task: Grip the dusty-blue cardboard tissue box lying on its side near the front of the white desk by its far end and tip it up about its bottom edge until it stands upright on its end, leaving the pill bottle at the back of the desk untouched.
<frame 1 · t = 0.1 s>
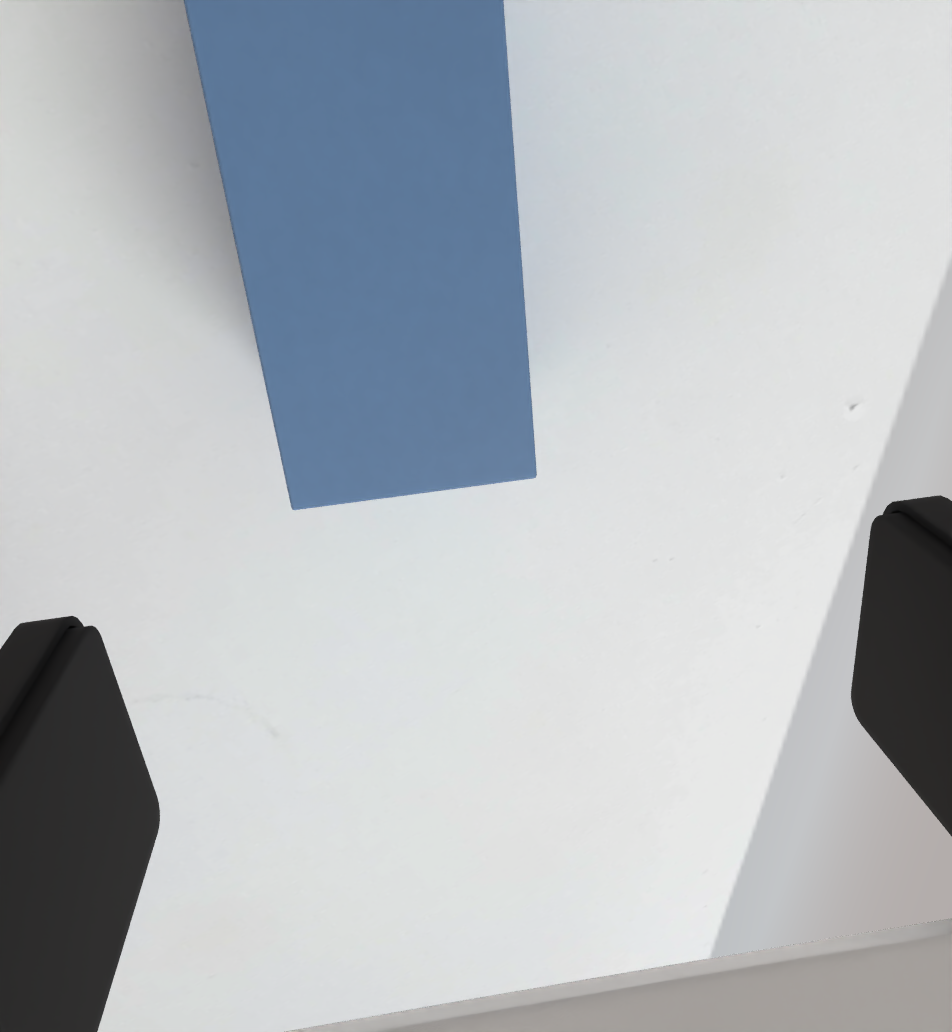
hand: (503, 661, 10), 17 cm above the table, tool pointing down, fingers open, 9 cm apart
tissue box: (372, 178, 20), point 4 cm above the table, hinge at 0.0°
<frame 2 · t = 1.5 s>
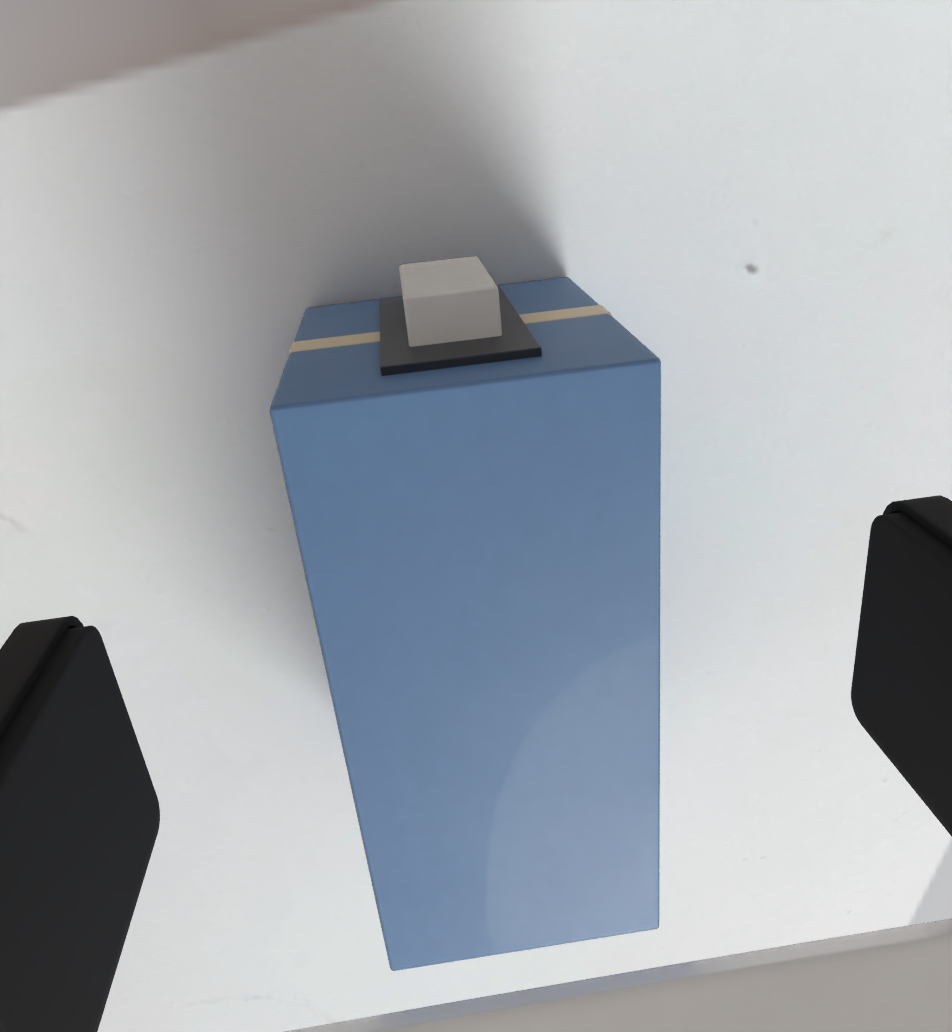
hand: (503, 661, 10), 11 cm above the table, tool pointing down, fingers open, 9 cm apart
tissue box: (479, 598, 18), point 4 cm above the table, hinge at 0.0°
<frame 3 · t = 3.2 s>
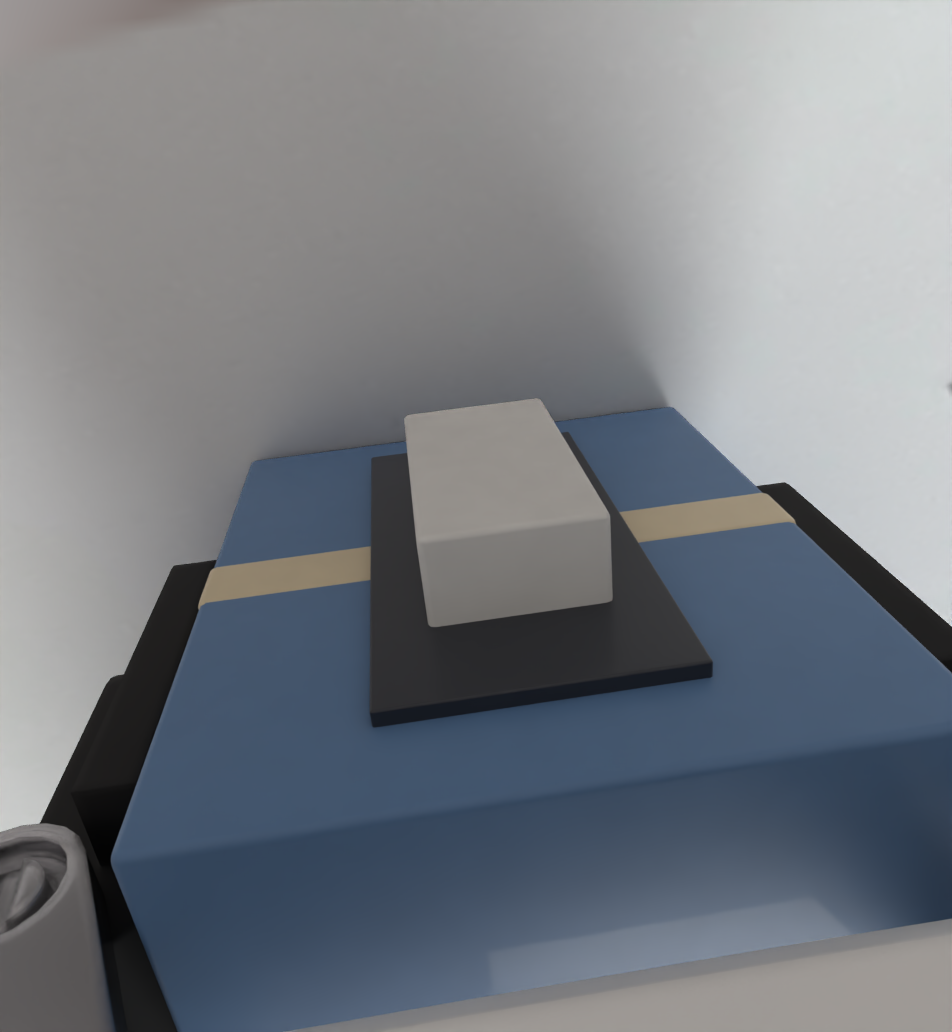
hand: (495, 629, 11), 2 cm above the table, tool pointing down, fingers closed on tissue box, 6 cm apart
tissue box: (536, 940, 11), point 4 cm above the table, hinge at 0.0°, touching gripper
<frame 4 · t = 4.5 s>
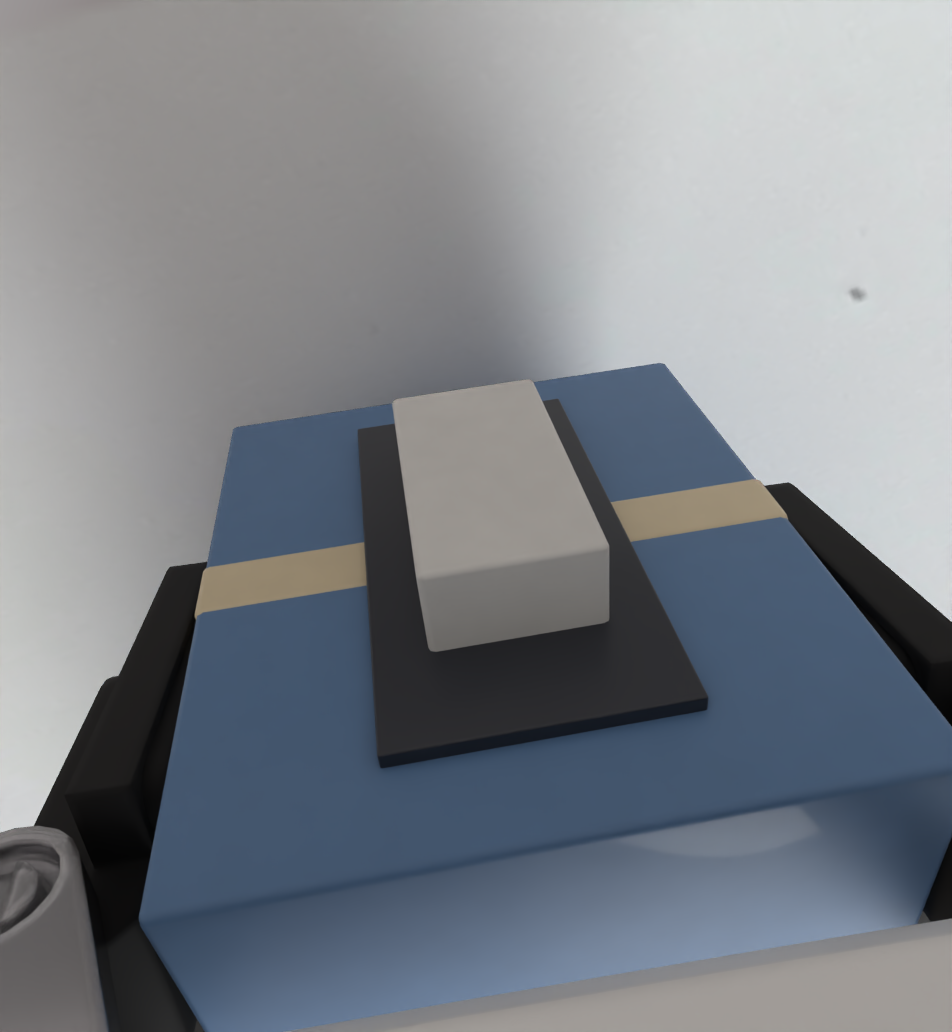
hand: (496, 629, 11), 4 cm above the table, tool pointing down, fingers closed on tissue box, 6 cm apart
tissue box: (526, 873, 12), point 5 cm above the table, hinge at 11.5°, touching gripper
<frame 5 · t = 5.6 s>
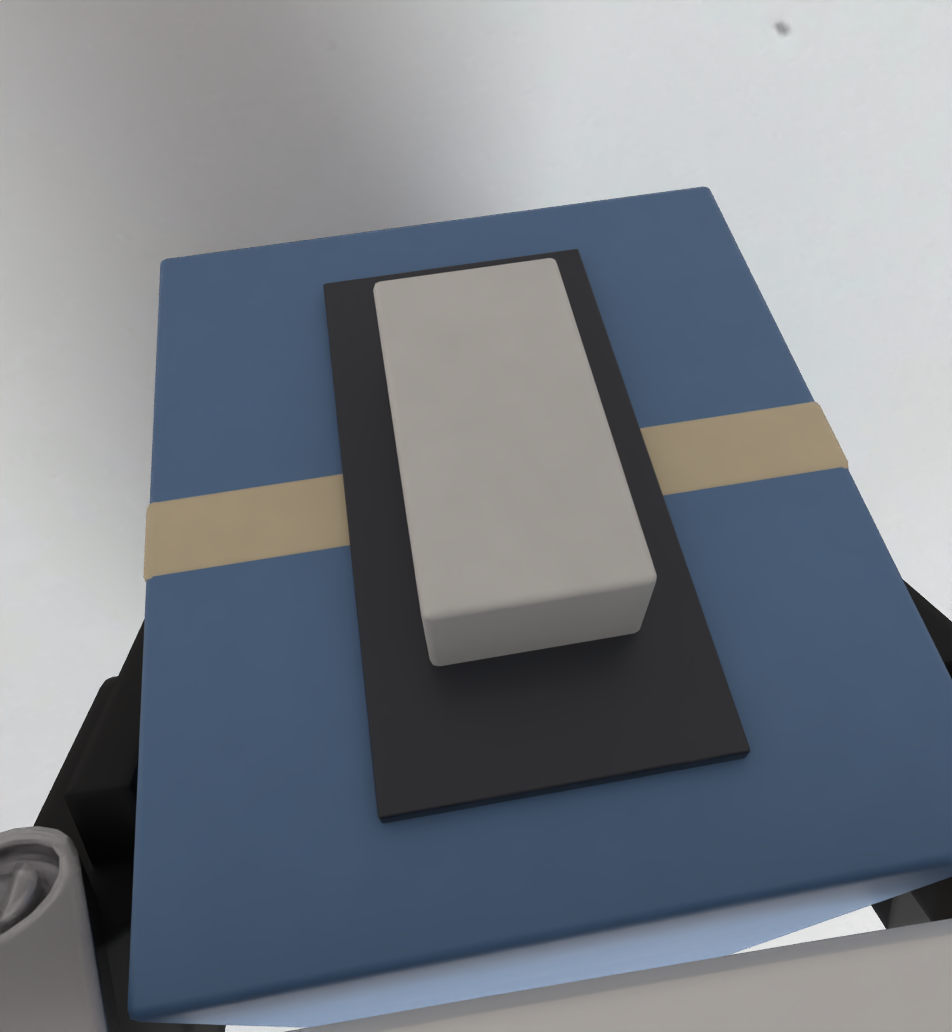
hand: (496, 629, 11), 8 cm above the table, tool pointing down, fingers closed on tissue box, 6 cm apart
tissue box: (500, 713, 12), point 7 cm above the table, hinge at 34.8°, touching gripper
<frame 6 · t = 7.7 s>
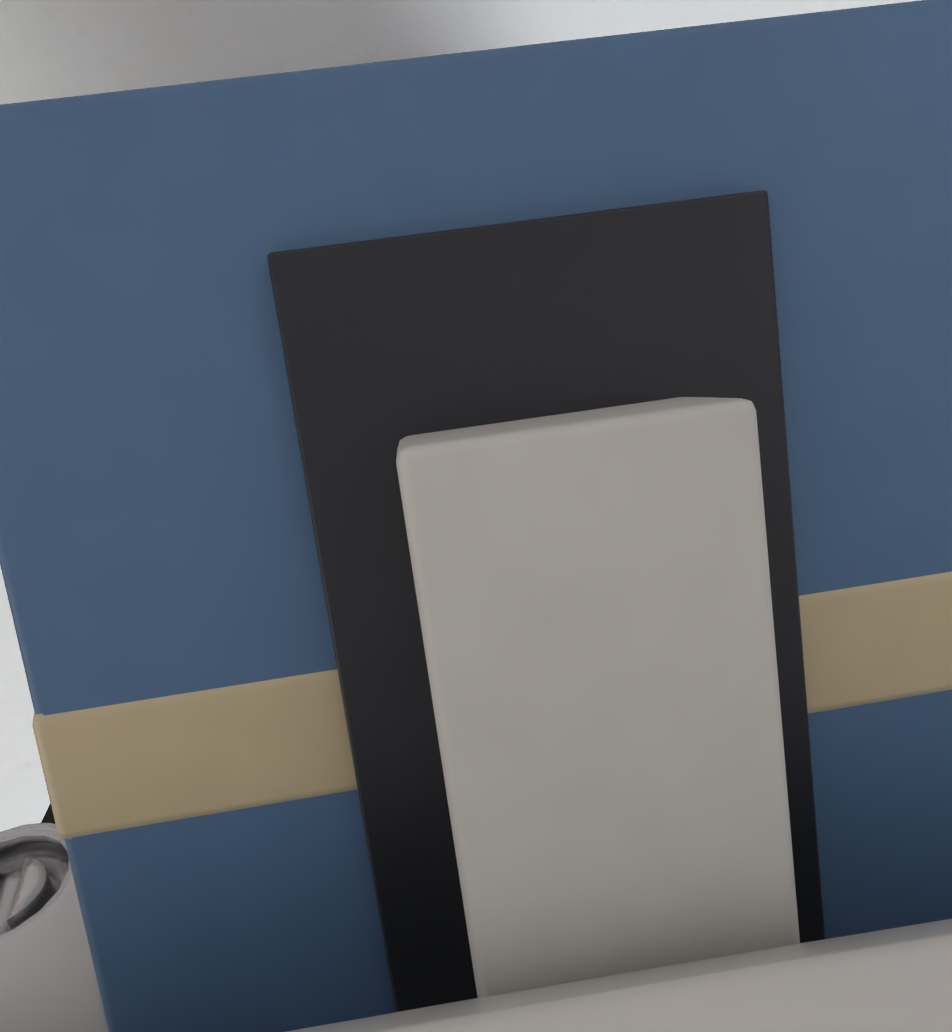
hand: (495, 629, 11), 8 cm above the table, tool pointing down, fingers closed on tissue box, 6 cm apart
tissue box: (480, 525, 11), point 8 cm above the table, hinge at 75.1°, touching gripper
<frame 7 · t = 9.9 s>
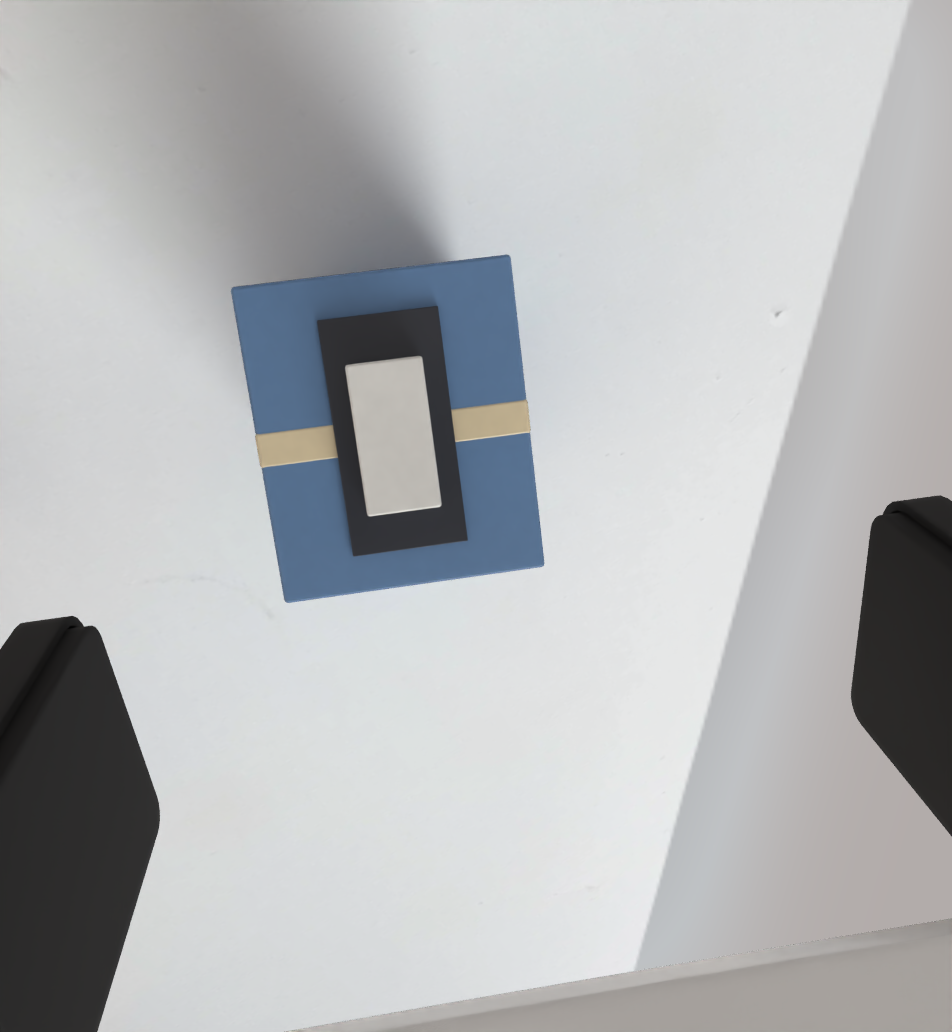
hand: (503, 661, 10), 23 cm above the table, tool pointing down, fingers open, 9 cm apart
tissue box: (396, 416, 24), point 8 cm above the table, hinge at 76.0°
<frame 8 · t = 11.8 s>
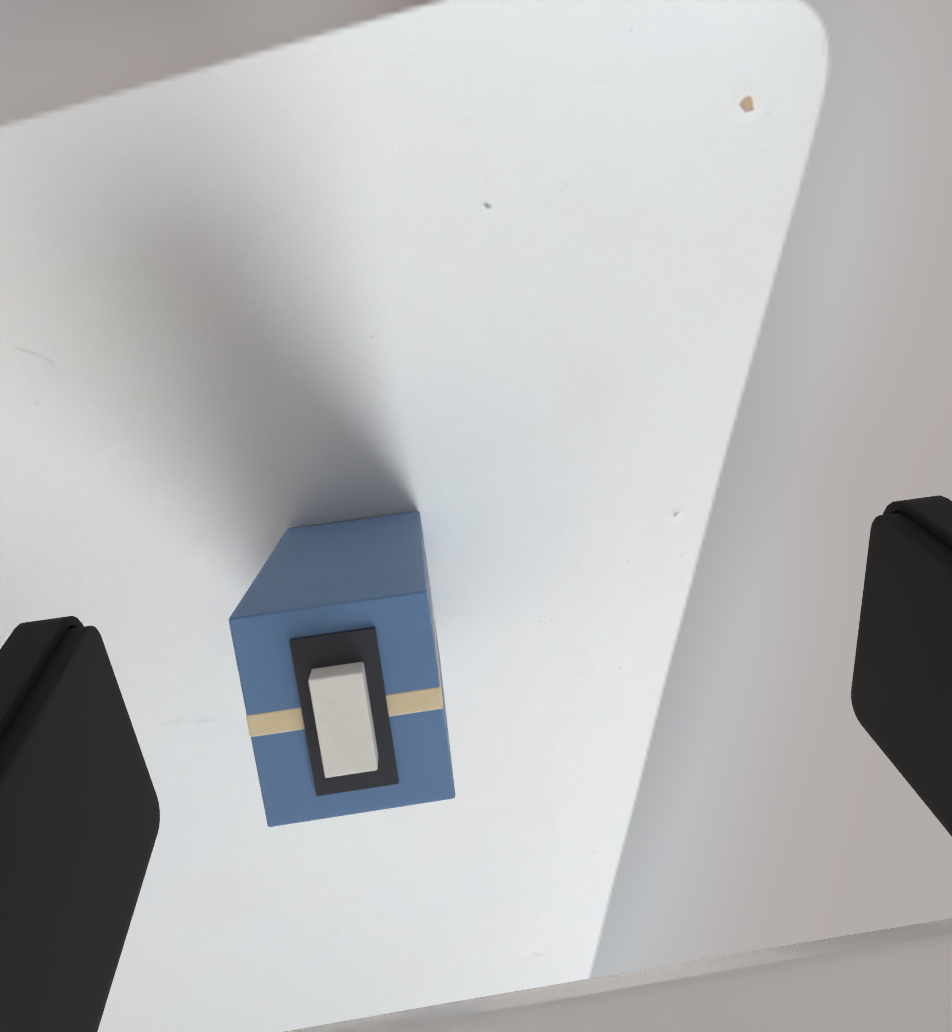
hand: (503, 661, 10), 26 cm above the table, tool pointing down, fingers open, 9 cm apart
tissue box: (356, 645, 32), point 8 cm above the table, hinge at 76.0°
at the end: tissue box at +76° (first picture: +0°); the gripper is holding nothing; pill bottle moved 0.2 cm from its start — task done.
